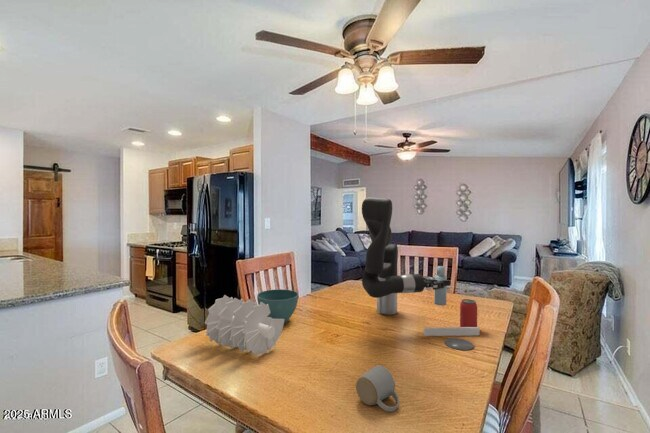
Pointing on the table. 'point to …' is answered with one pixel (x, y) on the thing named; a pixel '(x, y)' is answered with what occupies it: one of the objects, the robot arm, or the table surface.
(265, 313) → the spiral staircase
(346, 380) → the table surface
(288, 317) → the dark green bowl
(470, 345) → the coaster
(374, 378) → the ceramic mug
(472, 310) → the beer can
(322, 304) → the table surface
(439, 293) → the grey bottle
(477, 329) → the wall
